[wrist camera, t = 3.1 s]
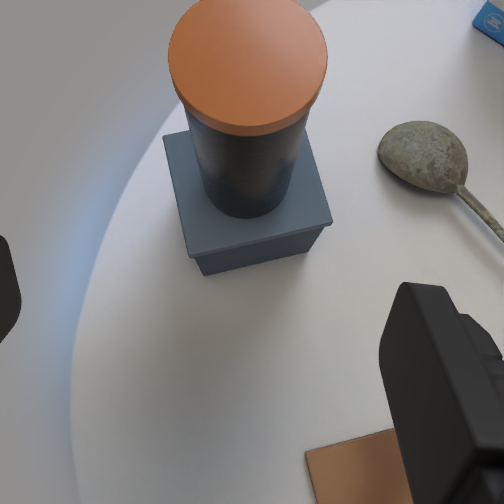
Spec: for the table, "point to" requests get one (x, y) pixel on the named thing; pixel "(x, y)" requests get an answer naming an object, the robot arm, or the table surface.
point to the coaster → (360, 471)
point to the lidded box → (245, 230)
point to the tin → (247, 95)
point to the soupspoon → (432, 162)
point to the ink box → (491, 19)
